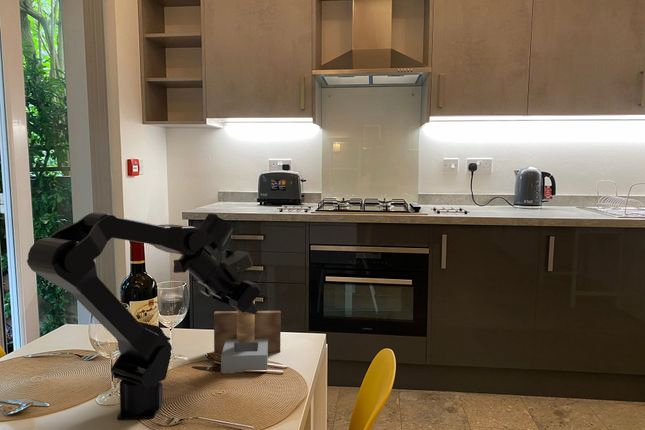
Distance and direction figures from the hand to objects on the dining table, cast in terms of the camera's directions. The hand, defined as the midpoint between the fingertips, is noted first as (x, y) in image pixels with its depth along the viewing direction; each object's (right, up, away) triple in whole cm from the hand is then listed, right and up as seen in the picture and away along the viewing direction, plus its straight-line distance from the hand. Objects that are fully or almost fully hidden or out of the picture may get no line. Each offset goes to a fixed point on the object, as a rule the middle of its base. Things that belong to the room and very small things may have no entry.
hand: (250, 310), depth 107 cm
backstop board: (-2, -12, +7) cm, 14 cm away
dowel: (-1, -7, 0) cm, 7 cm away
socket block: (-1, -12, 0) cm, 13 cm away
